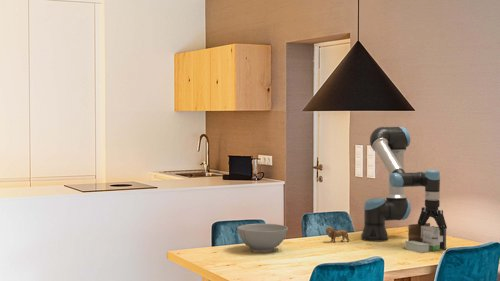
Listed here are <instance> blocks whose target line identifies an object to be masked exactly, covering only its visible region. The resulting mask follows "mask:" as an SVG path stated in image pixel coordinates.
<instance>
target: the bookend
mask: <svg viewBox="0 0 500 281" xmlns="http://www.w3.org/2000/svg"><path fill="white" fill-rule="evenodd" d="M430 226H431V227H436V228H439V227H438V226H434V225H430ZM440 249H444V251H447V250H446V249H448V248H447V229H444V235H443V242H440Z"/></svg>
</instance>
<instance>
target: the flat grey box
mask: <svg viewBox="0 0 500 281" xmlns="http://www.w3.org/2000/svg"><path fill="white" fill-rule="evenodd" d="M404 247H405V249H404V250H408V251H412V252H416V253H420V254H425V253H424V252H427V253H430V252H429V244H426V243H422V242H417V241H408V240H407V241H404Z"/></svg>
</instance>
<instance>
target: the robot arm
mask: <svg viewBox="0 0 500 281" xmlns="http://www.w3.org/2000/svg"><path fill="white" fill-rule="evenodd" d="M410 143H411V135H410V132H409V131H408V129H407V128H406V127H404V126H380V127H377V128H376V129H374V130H372V132H371V134H370V137H369V145H370V147H371V149H372V150H373V152H376V154H377V155H378V157H379V159H380V160H381V162H382V164H383V165H384V167H385V168H386V170H387V172H388V194H387V195H386V196H385V197H386V198H385V197H384V198H383V197H377V198H376V197H374V198H373V197H372V198H369V199H366V200H365V202H364V207H363V208H364V209H363V211H364V213H363V214H364V220H363V221H364V226H363V229H362V232H361V236H360V239H361V240H363V241H366V242H367V241H368V242H386V241H388V240H389V235H388V232H387V229H386V222H387V221H402V220H406V219H408V218H409V216H410V214H411V211H412V210H411V208H412V206H411V202H410V201H409V200H408V199H407V196H406V195H405V188H407V187H423V188H424V199H425V200H424V206H422V207H421V211H420V214H419V217H418V220H417V224H420V231H421V238H423V227H424V225H425V224H426V223H428V220H429V219H430V218H433V220H434V221H435V223H436V226H437V227H439V229H438V242H443V235H444V229H446V230H447V228H448V226H447V222H446V220H445V216H444V211H443V210H442V209H439V207H440V202H441V201H440V199H441V198H440V196H441V195H440V194H441V193H440V192H441V191H440V190H441V175H440V174H441V173H440V170H437V169H426V170H425V172H424V171H416V172H406V171H405V170H404V169H405V167H404V166H405V164H404V163H405V160H404V159H405V157H404V156H405V154H404V153H405V152H406V151H407V147H409V146H410Z"/></svg>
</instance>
